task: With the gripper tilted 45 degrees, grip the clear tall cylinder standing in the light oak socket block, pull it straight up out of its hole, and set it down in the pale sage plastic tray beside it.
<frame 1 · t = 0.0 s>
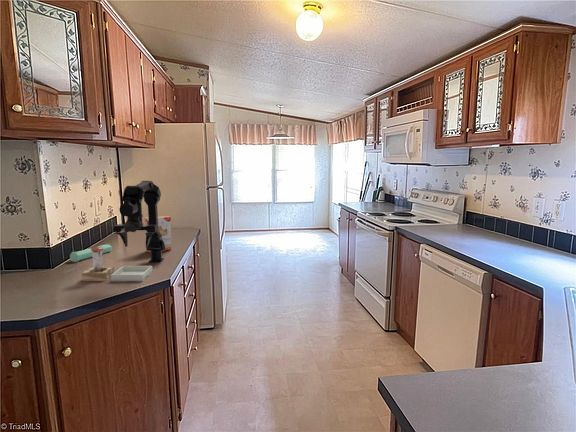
hand: (136, 246, 162), 15 cm above the table, tool pointing down, fingers open, 9 cm apart
socket block: (98, 277, 163), on the table
container: (93, 256, 199), on the table
tray: (132, 276, 165), on the table
cracker box: (158, 251, 213), on the table
clear tall cylinder: (97, 262, 162), in the socket block
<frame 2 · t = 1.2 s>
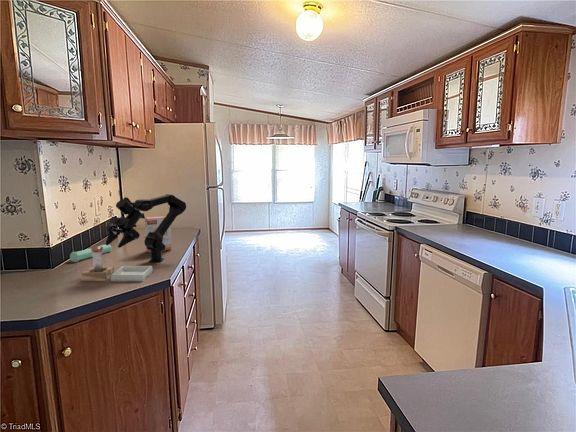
hand: (112, 246, 168), 13 cm above the table, tool tilted 45°, fingers open, 9 cm apart
nothing on the table moved.
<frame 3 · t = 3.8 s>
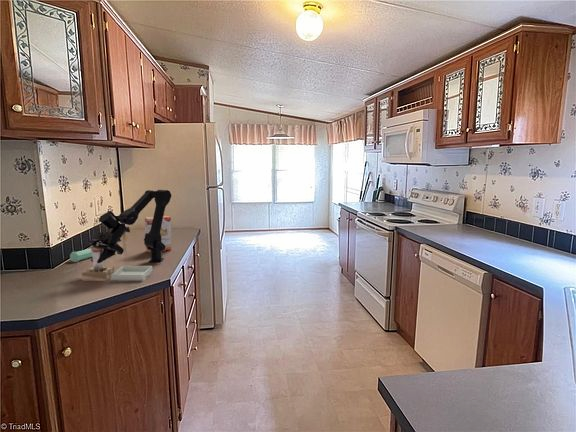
hand: (94, 262, 161), 8 cm above the table, tool tilted 45°, fingers closed on clear tall cylinder, 4 cm apart
clear tall cylinder: (97, 262, 162), in the socket block, touching gripper
everything else where it was.
when the fingers open (9 cm above the table, at t = 8.2 s): clear tall cylinder stays where it is, resting on tray.
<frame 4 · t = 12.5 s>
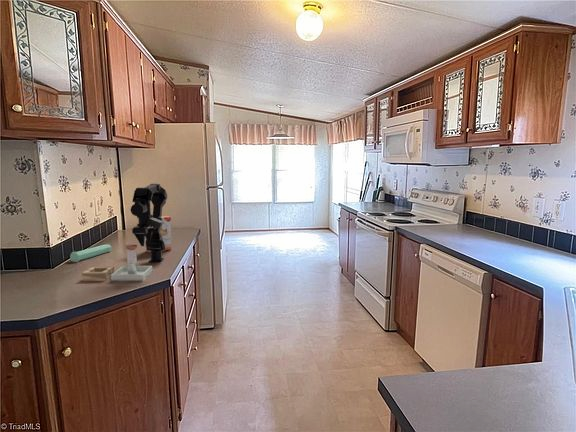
hand: (145, 244, 174), 13 cm above the table, tool pointing down, fingers open, 9 cm apart
clear tall cylinder: (132, 260, 164), in the tray, point 8 cm above the table
everything else where it was.
at the end: clear tall cylinder inside the target area on the tray (0.1 cm from its centre), point 7.8 cm above the tray's base; the gripper is holding nothing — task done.
